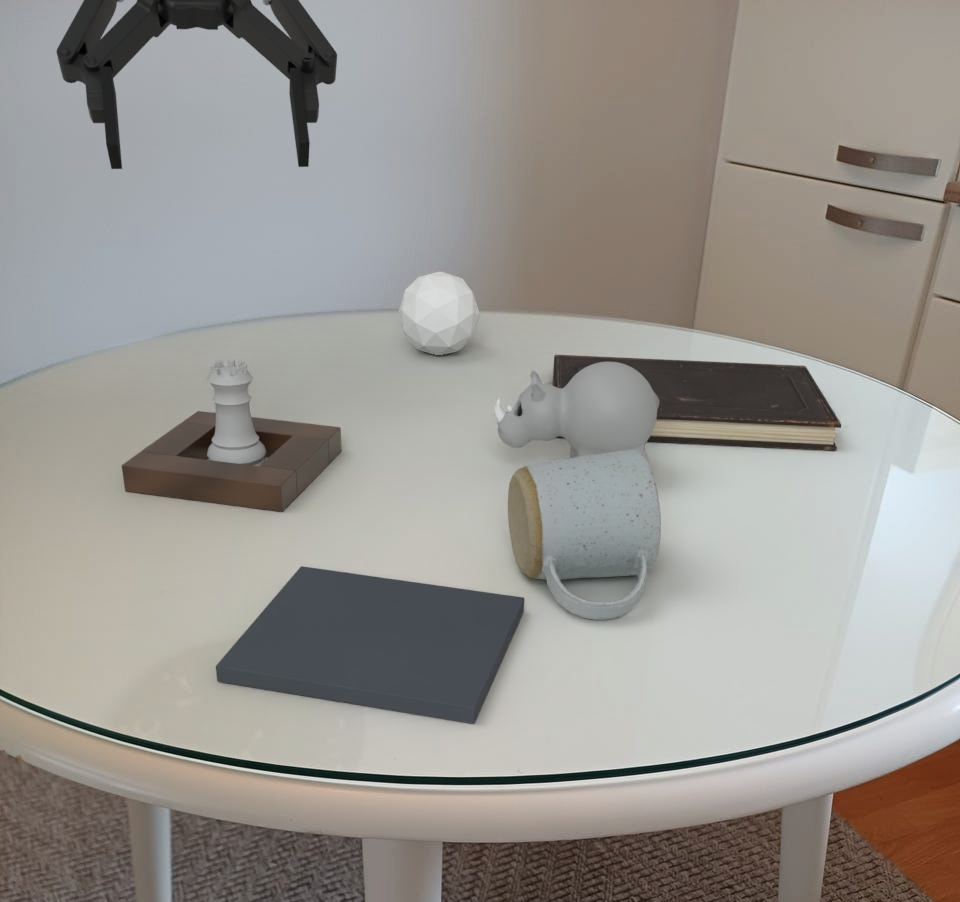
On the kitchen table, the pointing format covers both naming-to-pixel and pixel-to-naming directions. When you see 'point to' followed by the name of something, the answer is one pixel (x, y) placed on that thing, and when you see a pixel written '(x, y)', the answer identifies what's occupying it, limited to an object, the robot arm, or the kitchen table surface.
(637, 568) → the ceramic mug
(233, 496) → the stand
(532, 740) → the kitchen table surface
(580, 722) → the kitchen table surface
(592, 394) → the chubby cartoon animal
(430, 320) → the geometric ball
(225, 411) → the rook chess piece
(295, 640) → the mat
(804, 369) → the hardcover book
